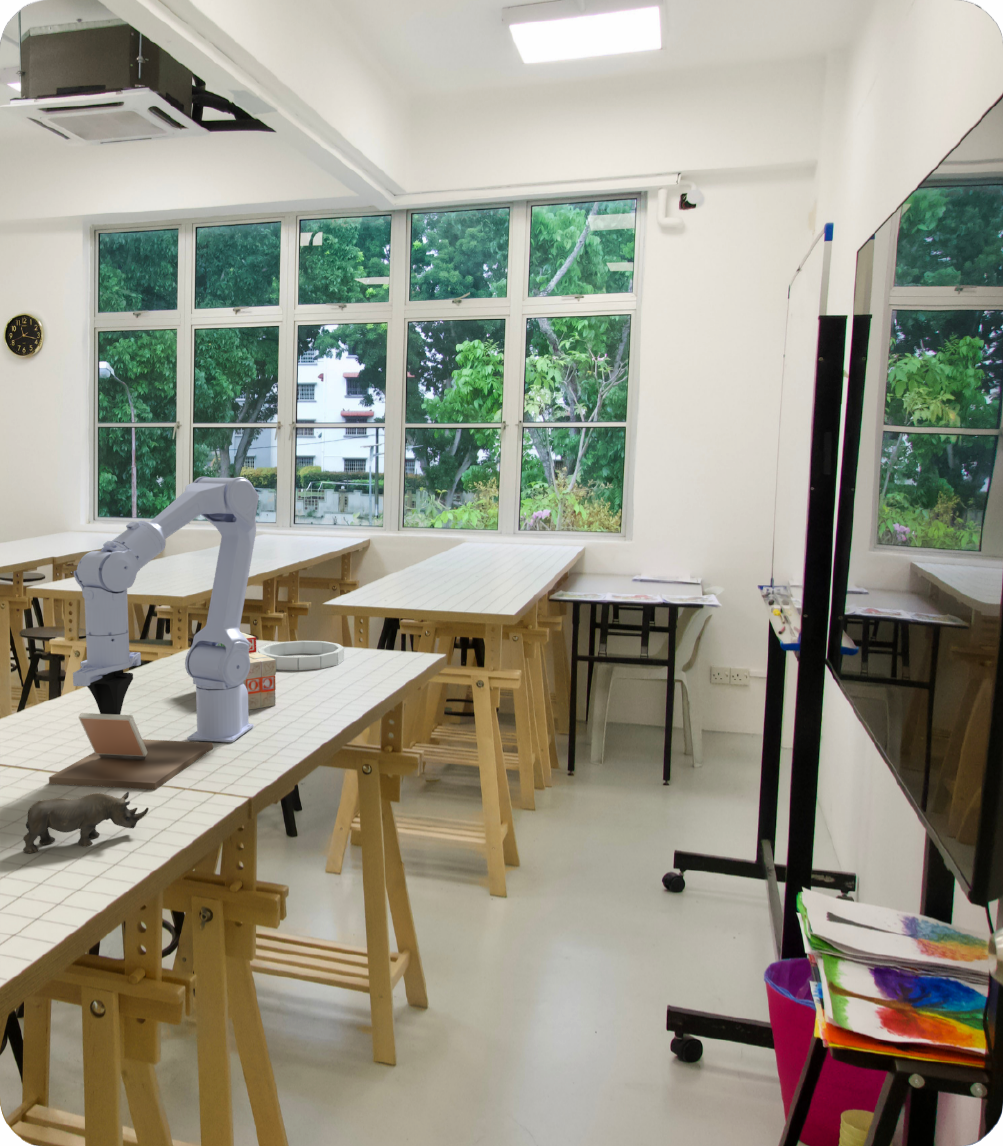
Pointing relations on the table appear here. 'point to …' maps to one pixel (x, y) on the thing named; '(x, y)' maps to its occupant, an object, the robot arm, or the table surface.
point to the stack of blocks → (259, 677)
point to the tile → (113, 734)
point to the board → (133, 766)
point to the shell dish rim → (329, 656)
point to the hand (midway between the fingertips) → (110, 722)
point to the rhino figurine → (77, 817)
